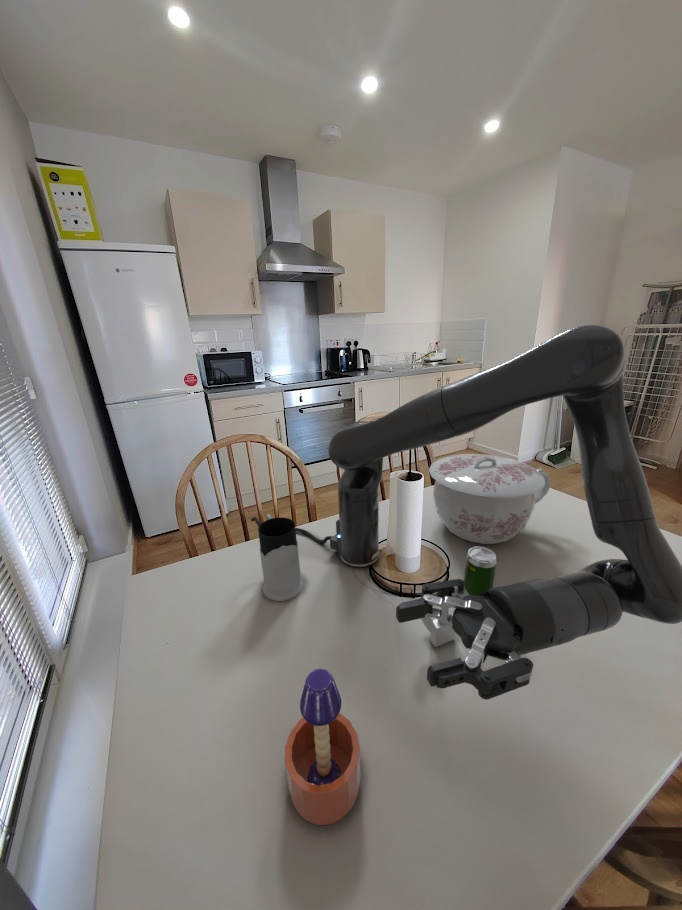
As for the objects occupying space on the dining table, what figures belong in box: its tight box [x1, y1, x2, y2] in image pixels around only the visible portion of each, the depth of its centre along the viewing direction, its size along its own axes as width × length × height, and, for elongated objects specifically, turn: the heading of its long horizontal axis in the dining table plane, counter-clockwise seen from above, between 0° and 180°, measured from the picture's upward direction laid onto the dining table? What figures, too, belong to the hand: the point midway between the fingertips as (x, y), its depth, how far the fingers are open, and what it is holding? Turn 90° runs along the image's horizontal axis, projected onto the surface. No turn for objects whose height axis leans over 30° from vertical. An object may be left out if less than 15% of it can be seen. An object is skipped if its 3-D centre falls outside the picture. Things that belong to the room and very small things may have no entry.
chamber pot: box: [428, 453, 552, 545], centre depth 92 cm, size 28×28×21 cm
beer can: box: [463, 546, 498, 596], centre depth 69 cm, size 5×5×12 cm
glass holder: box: [257, 513, 304, 602], centre depth 77 cm, size 9×14×15 cm, turn 24°
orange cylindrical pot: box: [284, 712, 361, 826], centre depth 43 cm, size 9×9×6 cm
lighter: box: [419, 614, 456, 648], centre depth 61 cm, size 7×2×8 cm, turn 111°
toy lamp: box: [299, 668, 342, 785], centre depth 41 cm, size 5×5×17 cm
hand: (411, 642), depth 40 cm, fingers open, 8 cm apart
